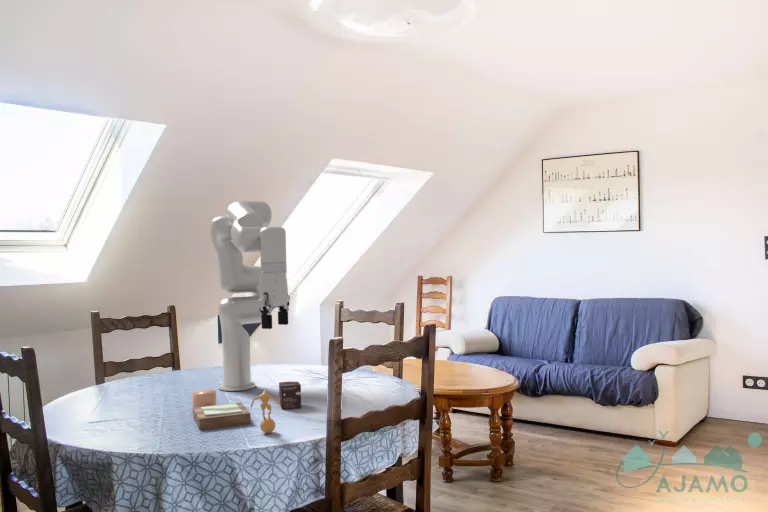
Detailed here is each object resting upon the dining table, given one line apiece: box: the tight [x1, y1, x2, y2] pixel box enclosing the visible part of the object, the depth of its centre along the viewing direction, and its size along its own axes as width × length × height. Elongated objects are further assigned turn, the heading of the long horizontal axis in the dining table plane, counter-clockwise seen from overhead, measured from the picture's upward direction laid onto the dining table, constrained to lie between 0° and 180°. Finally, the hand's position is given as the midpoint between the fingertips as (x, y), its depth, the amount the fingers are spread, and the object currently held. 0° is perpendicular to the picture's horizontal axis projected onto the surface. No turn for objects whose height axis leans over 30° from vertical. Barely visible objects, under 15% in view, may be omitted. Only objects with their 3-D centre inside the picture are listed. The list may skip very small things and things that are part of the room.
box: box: [278, 380, 302, 411], centre depth 213 cm, size 6×6×7 cm
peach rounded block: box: [191, 389, 217, 411], centre depth 209 cm, size 7×7×6 cm
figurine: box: [250, 389, 281, 434], centre depth 184 cm, size 8×6×12 cm
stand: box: [192, 401, 252, 431], centre depth 198 cm, size 14×14×3 cm
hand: (275, 326), depth 205 cm, fingers open, 9 cm apart
